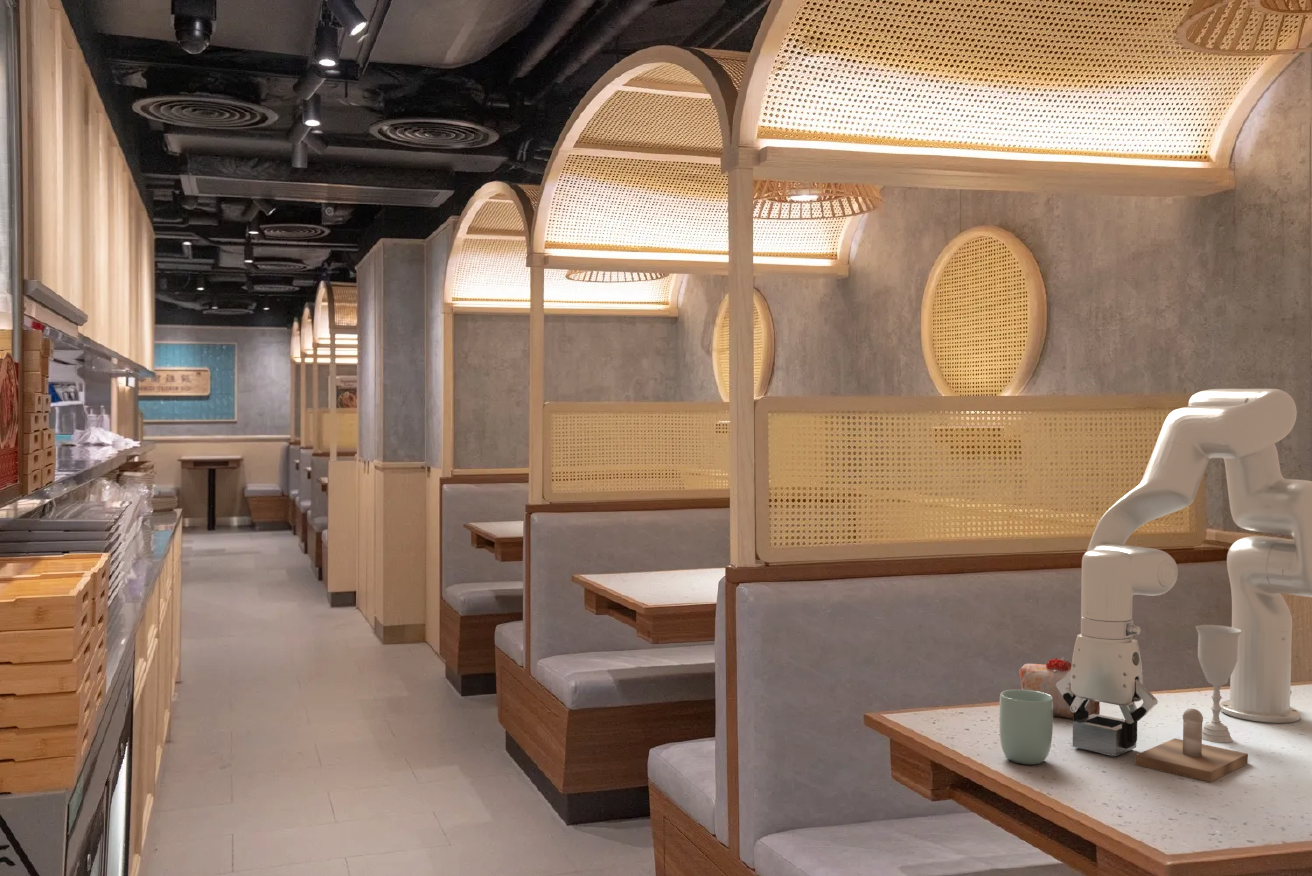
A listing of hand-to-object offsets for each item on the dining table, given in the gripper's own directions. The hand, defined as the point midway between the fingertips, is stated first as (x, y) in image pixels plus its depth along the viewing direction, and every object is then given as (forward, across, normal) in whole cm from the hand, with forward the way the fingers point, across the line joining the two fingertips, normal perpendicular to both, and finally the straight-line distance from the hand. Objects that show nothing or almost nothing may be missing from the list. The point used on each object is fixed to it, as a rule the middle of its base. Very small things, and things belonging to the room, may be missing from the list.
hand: (1104, 740), depth 184 cm
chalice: (+2, -9, -21) cm, 23 cm away
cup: (+1, +5, +15) cm, 16 cm away
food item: (+2, +16, -16) cm, 22 cm away
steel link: (+1, 0, 0) cm, 1 cm away
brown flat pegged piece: (+1, -12, -3) cm, 13 cm away
